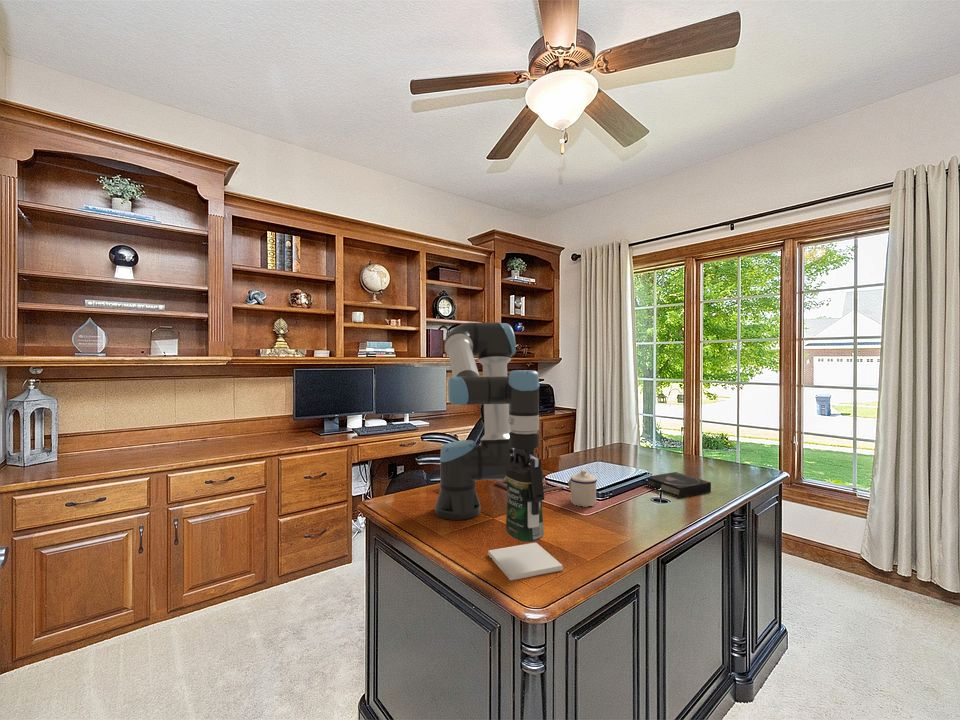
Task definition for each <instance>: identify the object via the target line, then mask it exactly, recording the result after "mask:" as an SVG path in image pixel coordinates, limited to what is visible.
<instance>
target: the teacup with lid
mask: <svg viewBox="0 0 960 720" xmlns="http://www.w3.org/2000/svg"><path fill="white" fill-rule="evenodd" d="M597 481H598V480H597V477H596V476H594V475H591V474H590V473H589V472H588V471H587V470H586V469H581V470H580V472H578V473H576V474H573V475H571V477H570V479H569V480H568V485H569V489H568V490H569V491H570V497H571V498H570V499H571V500H570V502H571V504H572V503H573V504H572V505H574V506H576V505H577V506H576V507H580V506H583V507H582V508H589V507H588V506H592V507H595V506H596V505H597ZM595 504H596V505H595Z"/></svg>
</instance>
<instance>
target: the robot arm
mask: <svg viewBox="0 0 960 720" xmlns="http://www.w3.org/2000/svg"><path fill="white" fill-rule="evenodd" d="M516 345H517V344H516V336H515V332H514V329H513V327H512V326H511V325H510V324H509V323H505V322H504V323H503V322H498V321H497V322H464V323H461V324H459V325H457V326H455V327H454V328H453V329H451V330H450V331H449V332H448V334H447V335H446V337H445V339H444V351H445V354H446V355H447V357H449V362H450V368H451V374H452V376H451V377H450V378H449V379H448V382H447V397H448V402H449V403H450V404H451V405H458V406H459V405H461V406H466V405H469V406H470V405H471V406H472V405H473V406H474V405H483V414H484V415H483V417H484V418H483V419H484V423H483V424H484V435H482V437H481V438H480V444H476V442H475V441H474V440H472V439H462V440H456V441H451V442H448V443H445V444H444V445H442V447H440V458H439V462H440V468H439V469H440V471H439V472H440V474H439V475H440V479H439V480H440V482H439V483H440V485H439V487H440V488H439V493H438V496H437V499H436V502H435V506H434V513H436V514H435V515H436V516H437V517H439V518H441V519H444V520H452V521H462V520H464V521H465V520H468V519H472V518H475V517H477V516H478V515H480V513H481V502H480V500H479V497H478V493H477V490H476V481H493V480H500V481H502V480H506V470H507V465H508V464H509V463H510V462H515V463H517V462H518V463H520V465H521V468H522V469H525V467H527V466H530V475H531V484H529V485H528V494H529V499H528V500H527V502H528V528H534V527H539V501H541V500H542V501H545V494H544V490H543V481H542V473H541V468H542V459H541V457H537V458H536V456H535V449H537V448H539V446H540V433H539V431H540V385H541V384H540V379H539V372H538V371H536V370H533V369H532V370H531V369H529V370H527V369H525V370H523V369H522V370H521V369H519V370H518V369H517V370H511V371H510V372H509V373H508V364H509V363H510V362H511V360H512V356H514V355H515V354H516ZM475 356H476V357H477V362H479V364H480V365H482V376H480V374H479V370H478V366H477V362H476V360H475ZM508 374H509V375H508Z"/></svg>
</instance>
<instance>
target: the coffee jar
mask: <svg viewBox="0 0 960 720" xmlns="http://www.w3.org/2000/svg"><path fill="white" fill-rule="evenodd" d="M541 473H542V481H544V479H543V478H544V477H543V473H544V470H543V468H542V467H541ZM505 480H506V481H507V490H506V491H507V498H506V499H507V501H506V504H507V505H506V516H505V517H506V518H505V519H506V521H505V531H506V533H507V534H508V535H509V536H510V537H511V538H514V539H515V540H517V541H519V542H523V543H526V542H528V543H529V542H530V543H535V542H536V541H540V540H541V539H542V538H543V537H544V535H545V534H544V529H545V528H544V517H543V516H544V515H543V500H541V501H539V527H534V528H528V502H527V500H528V499H529V494H528V485H529V484H531V475H530V466H527V467H525V469H522V468H521V465H520V463H518V462H517V463H515V462H510V463H509V464H508V465H507V470H506V479H505Z"/></svg>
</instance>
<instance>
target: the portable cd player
mask: <svg viewBox="0 0 960 720" xmlns="http://www.w3.org/2000/svg"><path fill="white" fill-rule="evenodd" d="M649 476H650V477H648V476H647V477H648V481H647V482H646V485H648V486H650V487H649V488H651V487H653V488H652V489H654V488H656V489H660V488H661V487H662V491H663V492H662V491H661V492H662V493H665V494H668V495H671V496H673V497H676V498H678V499H679V498H686V497H691V496H696V495H700V494H706V492H707V493H711V492H712V481H711V482H710V481H706V480H704V479H701V478H696V477H694V476H691V475H687V474H683V473H681V472H677V471H673V472H668V473H667V472H666V473H661V474H654V475H649ZM646 485H645V486H646ZM648 486H647V487H648ZM656 489H655V490H656Z"/></svg>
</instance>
